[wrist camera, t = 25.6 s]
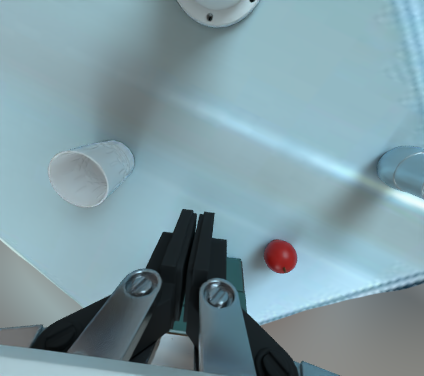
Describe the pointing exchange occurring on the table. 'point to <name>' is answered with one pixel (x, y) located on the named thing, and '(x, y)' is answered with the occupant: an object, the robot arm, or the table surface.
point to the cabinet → (181, 343)
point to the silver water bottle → (403, 169)
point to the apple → (280, 256)
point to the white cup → (90, 172)
